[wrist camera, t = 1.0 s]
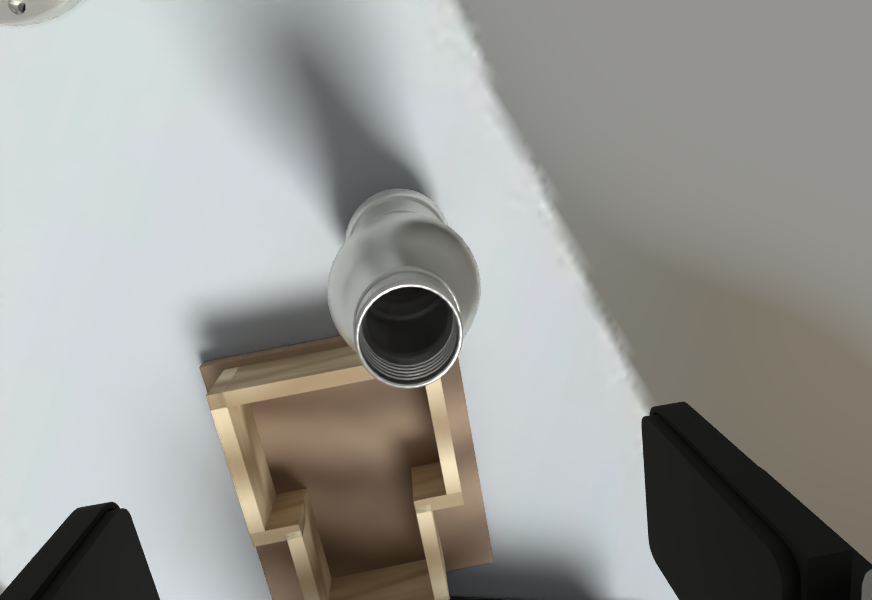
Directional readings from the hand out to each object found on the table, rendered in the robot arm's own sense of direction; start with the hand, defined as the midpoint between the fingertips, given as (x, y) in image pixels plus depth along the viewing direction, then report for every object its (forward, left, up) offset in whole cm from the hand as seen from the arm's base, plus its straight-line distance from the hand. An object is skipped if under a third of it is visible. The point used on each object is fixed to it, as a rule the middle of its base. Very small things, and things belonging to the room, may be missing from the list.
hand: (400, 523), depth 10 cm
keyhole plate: (+16, -5, -29) cm, 33 cm away
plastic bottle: (0, +1, -29) cm, 29 cm away
